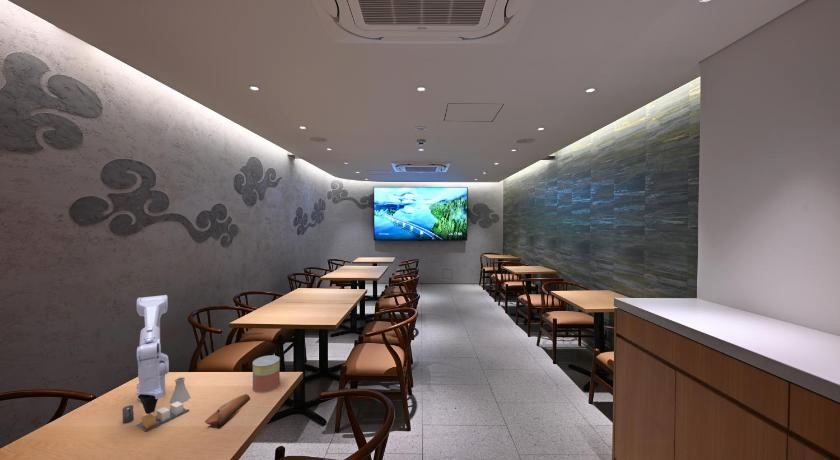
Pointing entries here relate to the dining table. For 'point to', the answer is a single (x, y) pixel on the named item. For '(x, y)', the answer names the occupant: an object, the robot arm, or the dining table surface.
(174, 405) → the toggle near
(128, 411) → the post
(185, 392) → the flask
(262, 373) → the canned food
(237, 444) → the dining table surface
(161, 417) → the toggle mid
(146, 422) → the toggle orange
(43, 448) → the dining table surface
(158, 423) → the panel
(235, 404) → the brown tapered rod
